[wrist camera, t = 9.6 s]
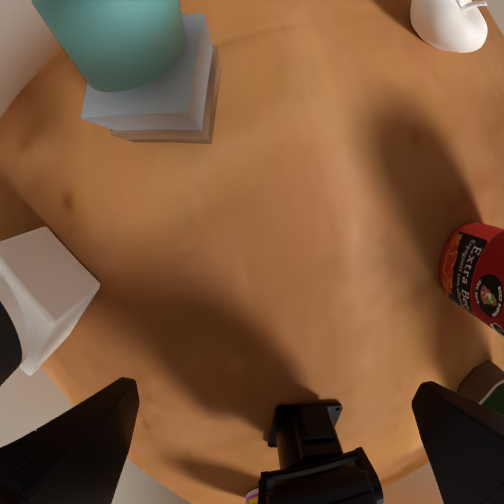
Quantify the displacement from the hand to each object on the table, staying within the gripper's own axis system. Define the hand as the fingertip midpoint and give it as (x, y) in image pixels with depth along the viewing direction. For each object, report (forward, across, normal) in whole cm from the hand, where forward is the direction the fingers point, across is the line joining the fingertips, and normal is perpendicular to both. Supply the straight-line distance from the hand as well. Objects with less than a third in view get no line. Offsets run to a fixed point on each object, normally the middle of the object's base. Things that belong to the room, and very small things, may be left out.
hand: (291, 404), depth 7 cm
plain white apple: (+13, -13, -23) cm, 30 cm away
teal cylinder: (+4, +7, -11) cm, 14 cm away
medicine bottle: (+13, +17, +3) cm, 22 cm away
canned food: (+13, -19, -2) cm, 23 cm away
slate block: (+9, +7, -11) cm, 16 cm away
